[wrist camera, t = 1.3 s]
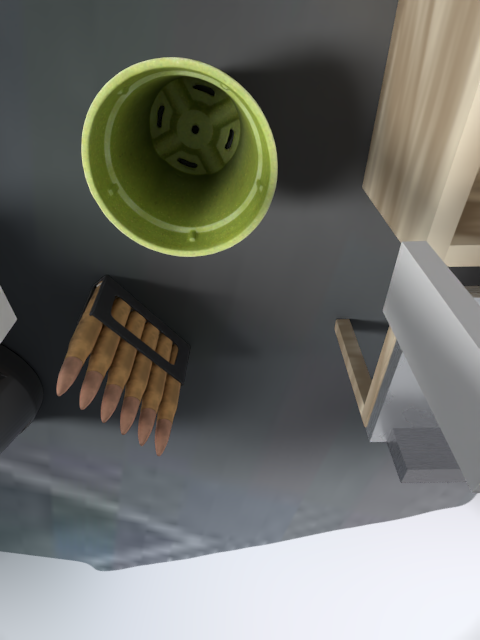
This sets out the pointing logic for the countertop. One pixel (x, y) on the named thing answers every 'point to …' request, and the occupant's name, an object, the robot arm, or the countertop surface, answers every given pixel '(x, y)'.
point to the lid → (412, 424)
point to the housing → (424, 151)
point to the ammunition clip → (127, 361)
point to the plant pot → (179, 142)
